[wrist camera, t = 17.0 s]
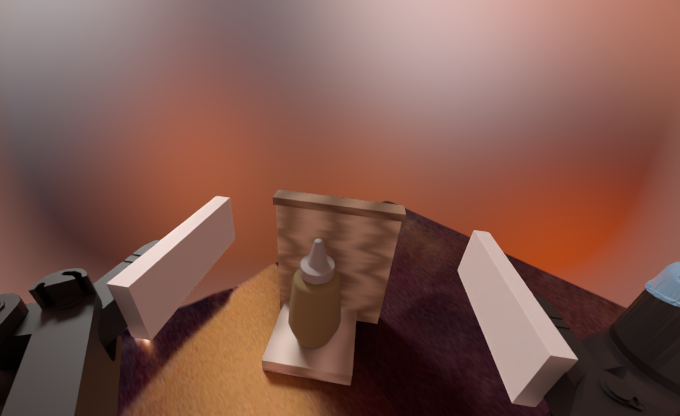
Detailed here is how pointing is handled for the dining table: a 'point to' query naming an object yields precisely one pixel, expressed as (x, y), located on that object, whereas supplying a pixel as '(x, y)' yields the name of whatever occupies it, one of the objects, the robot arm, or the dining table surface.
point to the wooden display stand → (350, 262)
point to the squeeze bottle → (315, 299)
